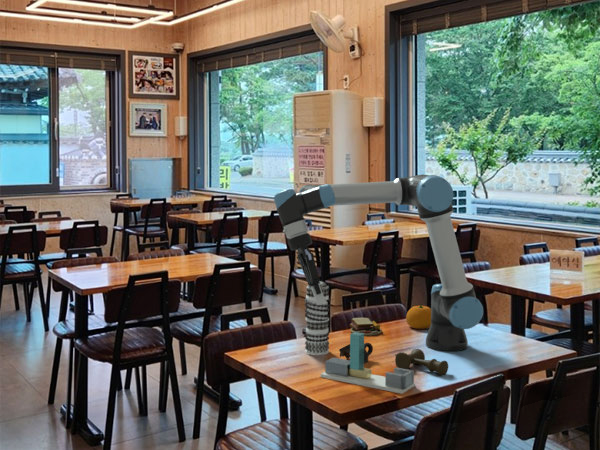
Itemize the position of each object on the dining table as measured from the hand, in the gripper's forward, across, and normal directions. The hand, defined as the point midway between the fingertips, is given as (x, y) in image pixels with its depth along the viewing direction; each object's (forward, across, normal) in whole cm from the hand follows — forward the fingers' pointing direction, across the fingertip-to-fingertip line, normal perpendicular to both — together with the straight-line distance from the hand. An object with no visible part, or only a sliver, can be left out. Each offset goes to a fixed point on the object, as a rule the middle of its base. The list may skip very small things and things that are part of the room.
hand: (321, 304), depth 243 cm
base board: (+27, +10, +3) cm, 29 cm away
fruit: (+24, -51, +48) cm, 74 cm away
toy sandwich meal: (+18, -48, +24) cm, 57 cm away
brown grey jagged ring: (+23, -11, +8) cm, 26 cm away
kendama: (+31, +1, +24) cm, 39 cm away
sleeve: (+23, +4, -3) cm, 24 cm away
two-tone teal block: (+23, +6, 0) cm, 24 cm away
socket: (+31, +18, +10) cm, 37 cm away
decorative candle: (+16, -24, -2) cm, 29 cm away
